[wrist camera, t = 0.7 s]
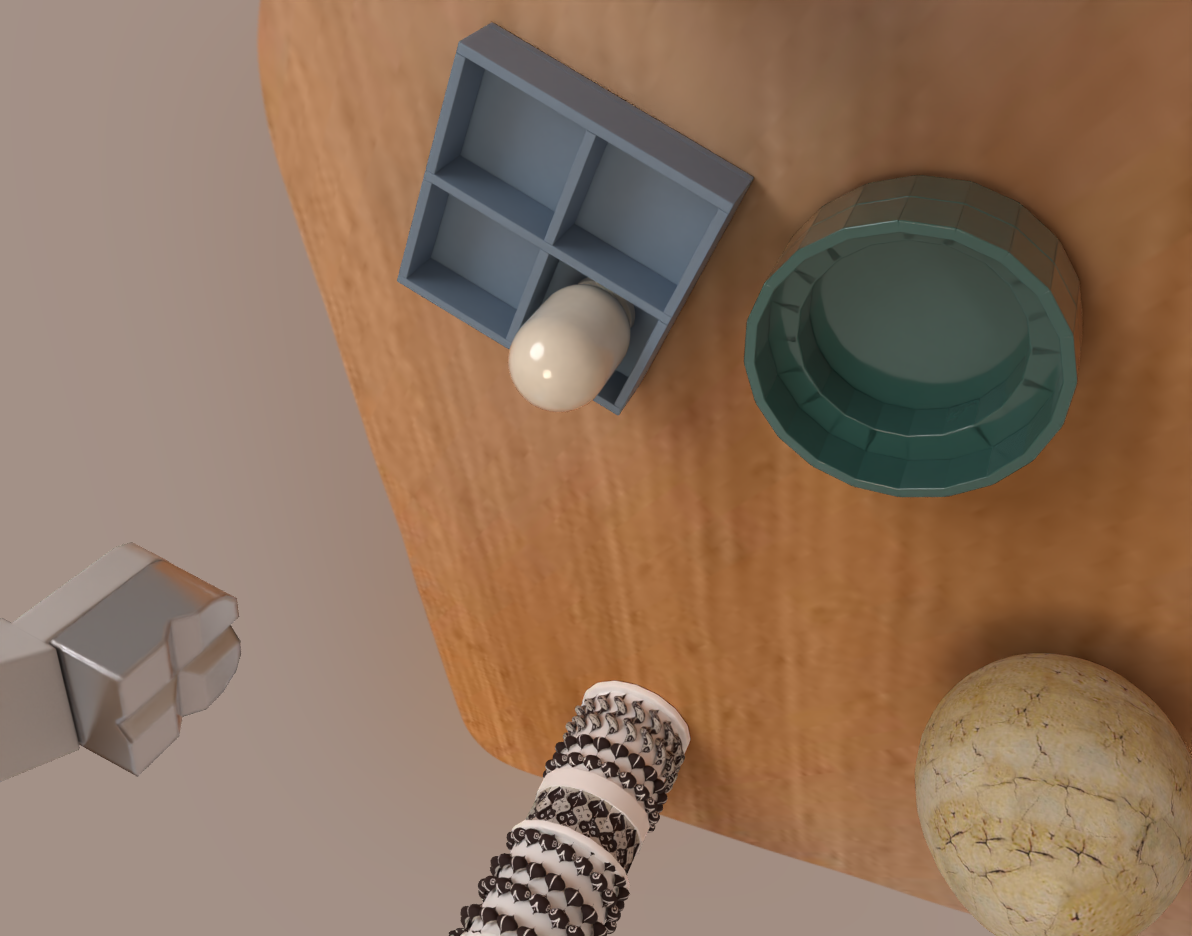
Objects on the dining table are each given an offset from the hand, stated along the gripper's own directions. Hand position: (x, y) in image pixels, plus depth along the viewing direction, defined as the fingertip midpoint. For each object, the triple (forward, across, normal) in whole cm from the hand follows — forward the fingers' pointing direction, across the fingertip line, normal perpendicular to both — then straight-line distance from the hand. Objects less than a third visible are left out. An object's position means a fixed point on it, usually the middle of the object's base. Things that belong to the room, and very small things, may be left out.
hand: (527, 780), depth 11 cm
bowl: (+36, -2, +9) cm, 37 cm away
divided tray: (+36, +14, +11) cm, 40 cm away
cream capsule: (+36, +12, +15) cm, 40 cm away
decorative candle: (+40, +4, +48) cm, 62 cm away
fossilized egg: (+38, -18, +28) cm, 50 cm away
